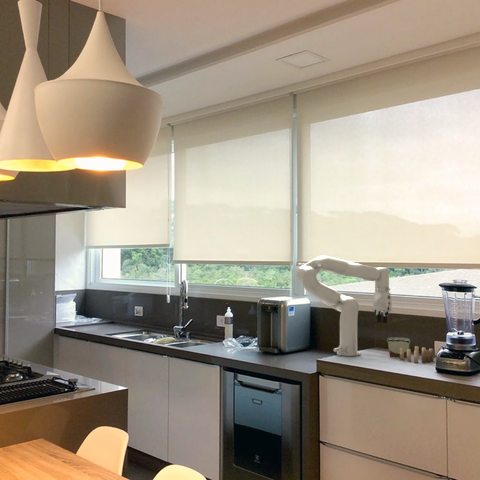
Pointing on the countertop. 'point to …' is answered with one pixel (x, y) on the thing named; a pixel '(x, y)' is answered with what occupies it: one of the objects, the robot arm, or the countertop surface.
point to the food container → (398, 346)
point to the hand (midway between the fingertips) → (382, 322)
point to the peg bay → (426, 355)
